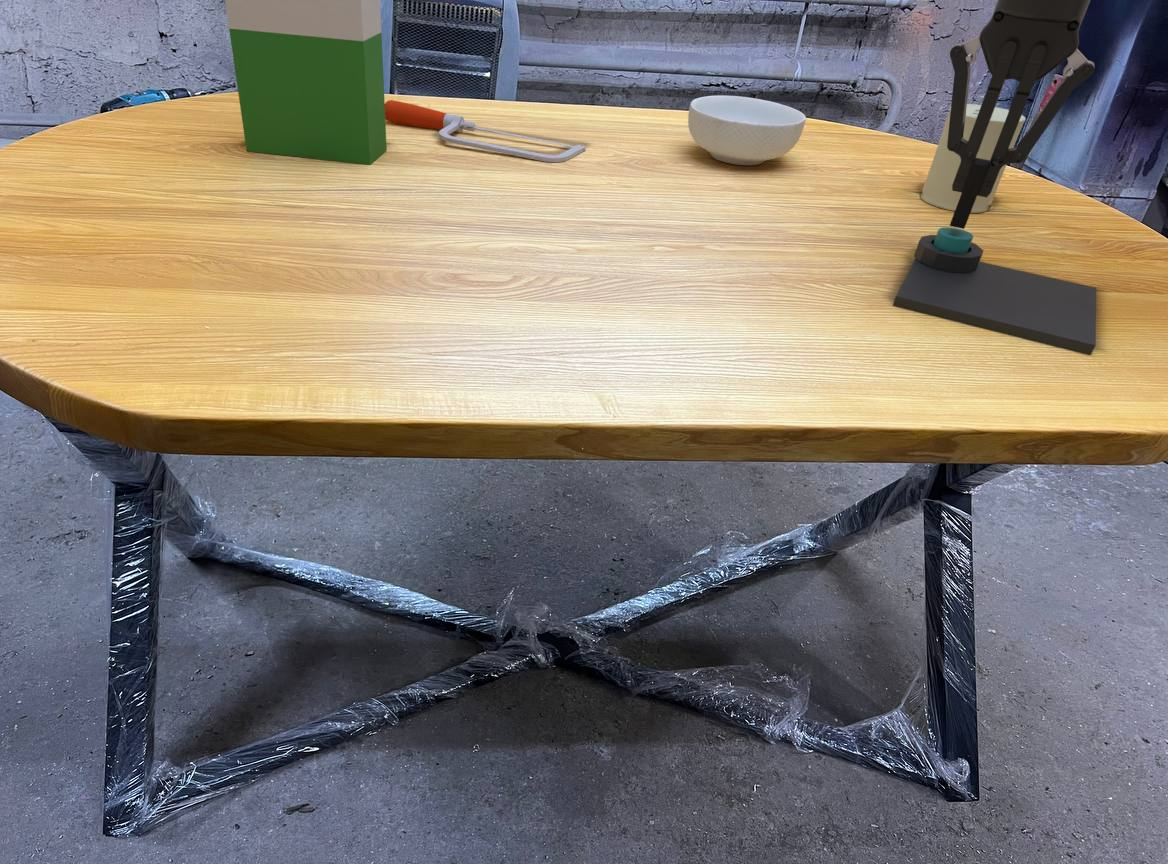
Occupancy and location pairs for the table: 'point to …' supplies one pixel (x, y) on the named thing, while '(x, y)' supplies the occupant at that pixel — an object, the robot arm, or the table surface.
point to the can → (948, 162)
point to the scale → (999, 298)
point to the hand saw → (455, 123)
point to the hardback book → (310, 77)
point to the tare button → (953, 240)
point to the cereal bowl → (744, 128)
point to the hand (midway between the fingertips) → (958, 223)
